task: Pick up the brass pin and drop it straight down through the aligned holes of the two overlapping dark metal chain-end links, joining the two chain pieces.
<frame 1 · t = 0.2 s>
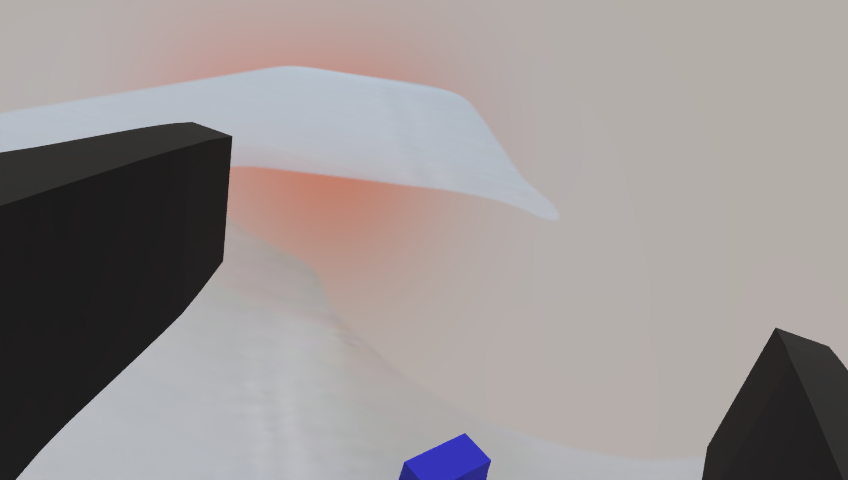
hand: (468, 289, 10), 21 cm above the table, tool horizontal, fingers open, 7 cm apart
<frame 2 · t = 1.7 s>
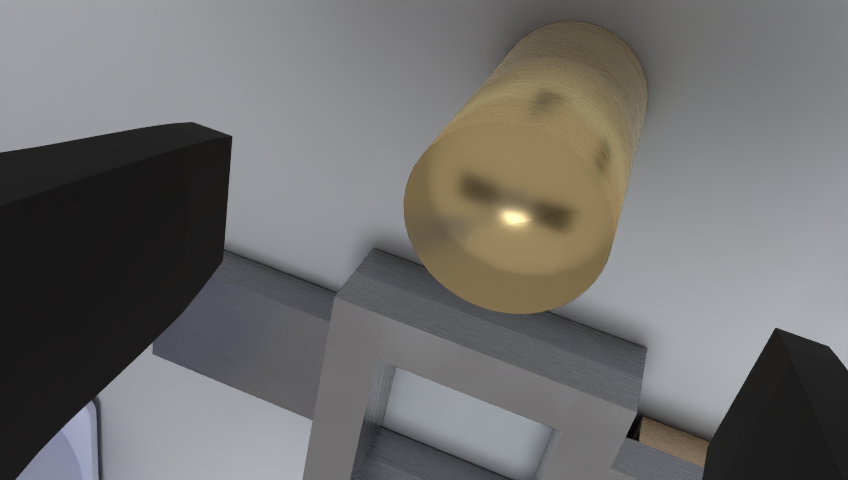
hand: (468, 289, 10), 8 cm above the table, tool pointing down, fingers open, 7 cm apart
chain b: (472, 400, 22), on the table
brass pin: (570, 97, 17), on the table
chain a: (472, 400, 22), on the table
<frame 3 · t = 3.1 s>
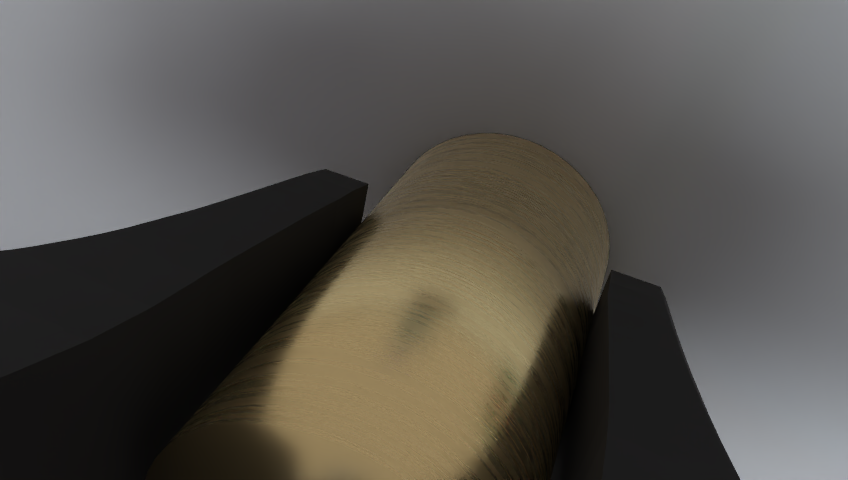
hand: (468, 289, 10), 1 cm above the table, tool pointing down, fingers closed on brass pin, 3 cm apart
brass pin: (495, 238, 11), on the table, touching gripper
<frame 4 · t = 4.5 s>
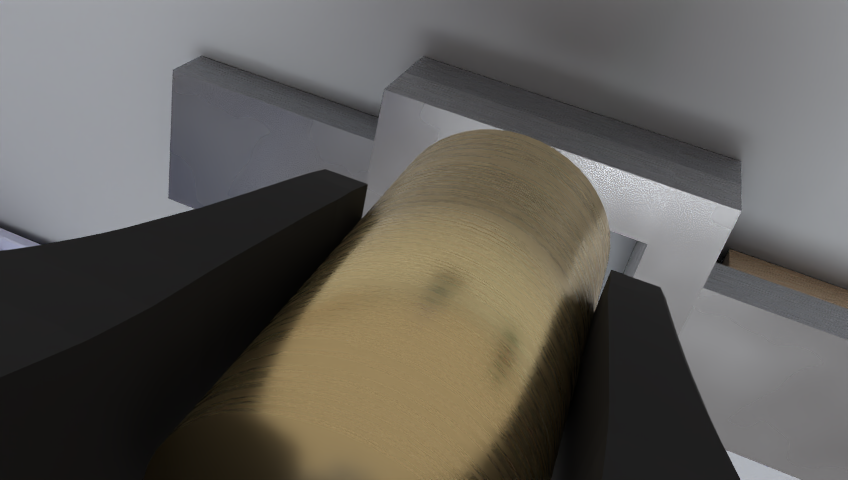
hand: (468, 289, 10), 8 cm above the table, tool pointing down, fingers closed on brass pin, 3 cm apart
chain b: (530, 242, 19), on the table
brass pin: (496, 235, 11), point 7 cm above the table, touching gripper
chain a: (530, 242, 19), on the table
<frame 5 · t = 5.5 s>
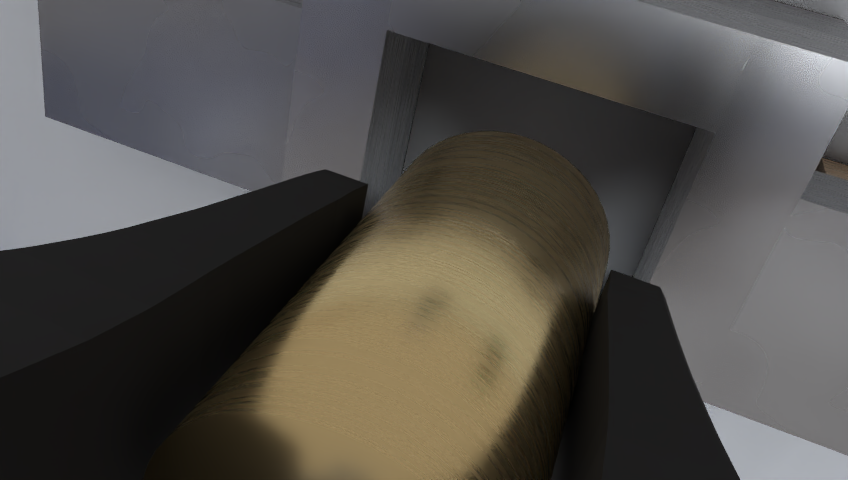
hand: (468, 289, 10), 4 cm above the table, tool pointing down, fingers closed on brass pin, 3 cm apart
chain b: (534, 161, 14), on the table
brass pin: (496, 237, 11), point 3 cm above the table, touching gripper
chain a: (534, 161, 14), on the table
when the fingers open (3 cm above the table, at t = 6.1 s): brass pin drops 2 cm, resting in chain a.
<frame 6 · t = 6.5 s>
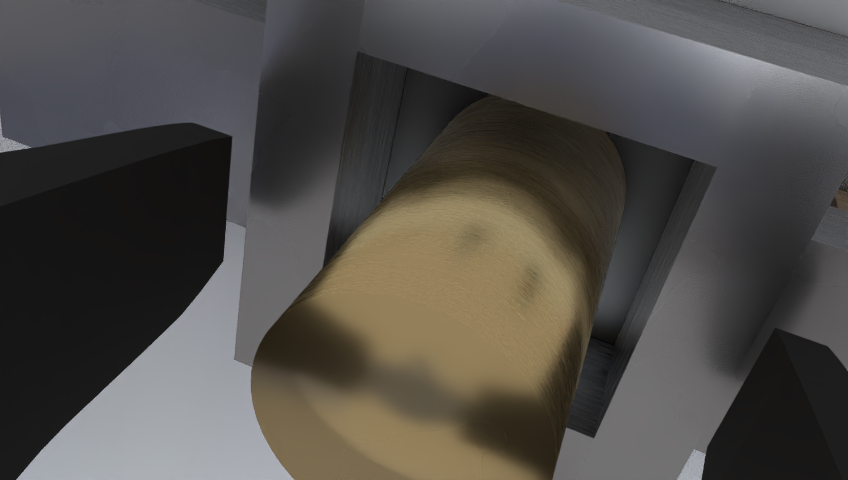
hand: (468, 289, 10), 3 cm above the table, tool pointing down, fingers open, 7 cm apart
chain b: (522, 188, 13), on the table
brass pin: (524, 186, 13), resting in chain a
chain a: (522, 188, 13), on the table
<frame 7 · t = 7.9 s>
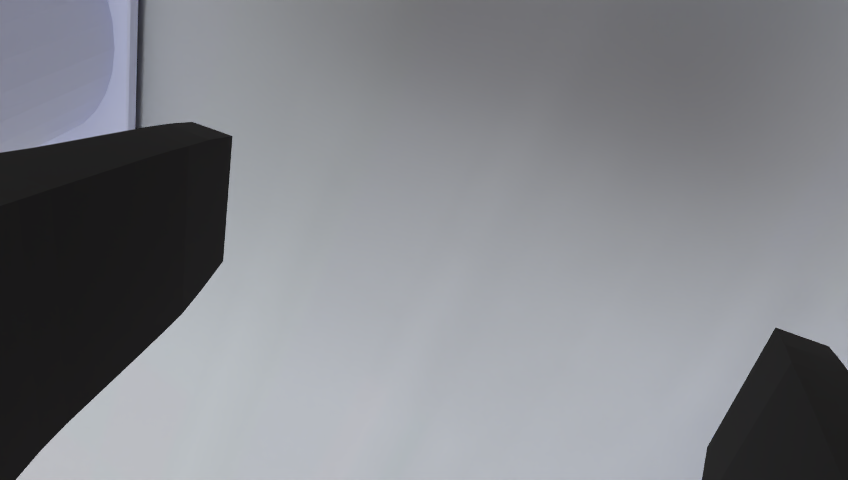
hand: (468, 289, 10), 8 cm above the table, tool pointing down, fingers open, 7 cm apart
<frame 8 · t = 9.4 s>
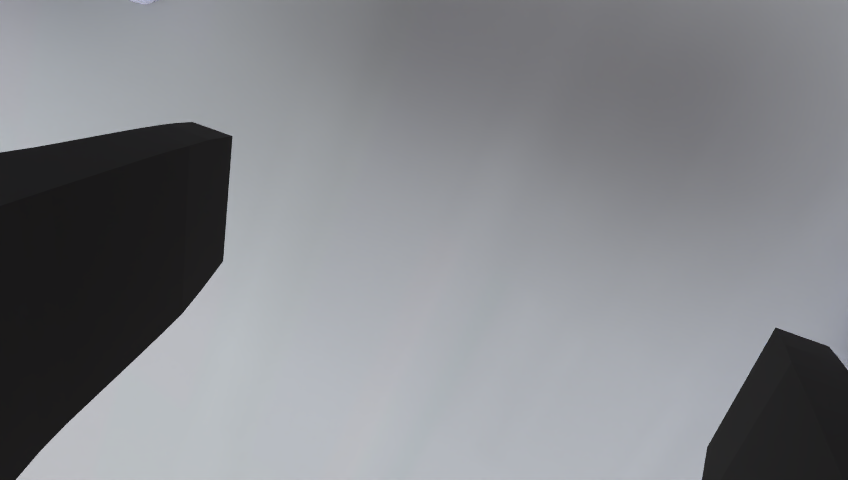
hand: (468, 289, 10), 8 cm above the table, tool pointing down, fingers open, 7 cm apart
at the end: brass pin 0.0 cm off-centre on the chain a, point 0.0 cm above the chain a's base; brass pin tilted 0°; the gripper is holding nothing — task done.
